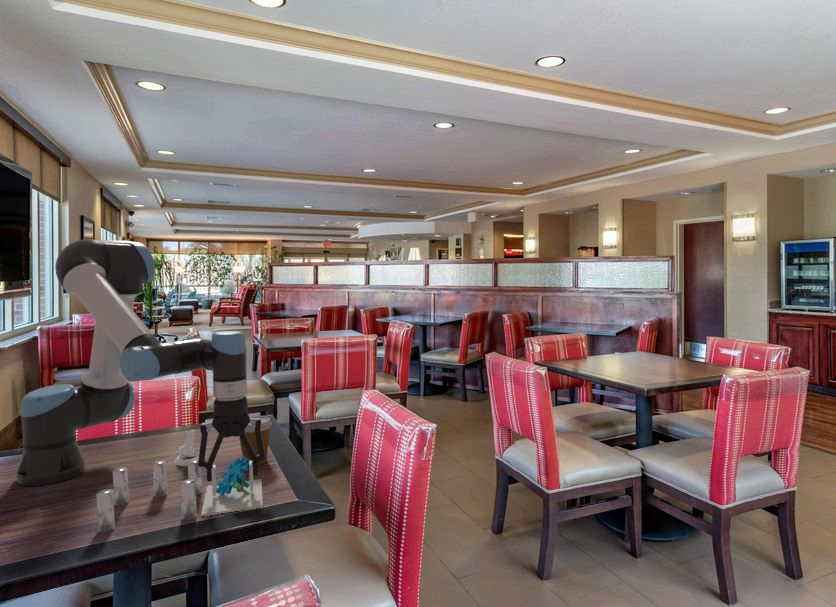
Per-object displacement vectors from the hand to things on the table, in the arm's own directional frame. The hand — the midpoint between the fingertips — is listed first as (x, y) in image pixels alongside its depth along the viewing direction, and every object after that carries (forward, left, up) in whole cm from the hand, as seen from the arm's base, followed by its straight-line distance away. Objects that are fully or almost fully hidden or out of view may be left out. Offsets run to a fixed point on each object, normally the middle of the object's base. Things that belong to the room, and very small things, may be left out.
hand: (233, 491), depth 123 cm
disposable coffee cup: (+5, +23, -2) cm, 24 cm away
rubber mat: (0, 0, -2) cm, 2 cm away
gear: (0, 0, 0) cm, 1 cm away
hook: (-13, +30, -2) cm, 33 cm away
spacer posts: (-17, -1, -2) cm, 17 cm away
